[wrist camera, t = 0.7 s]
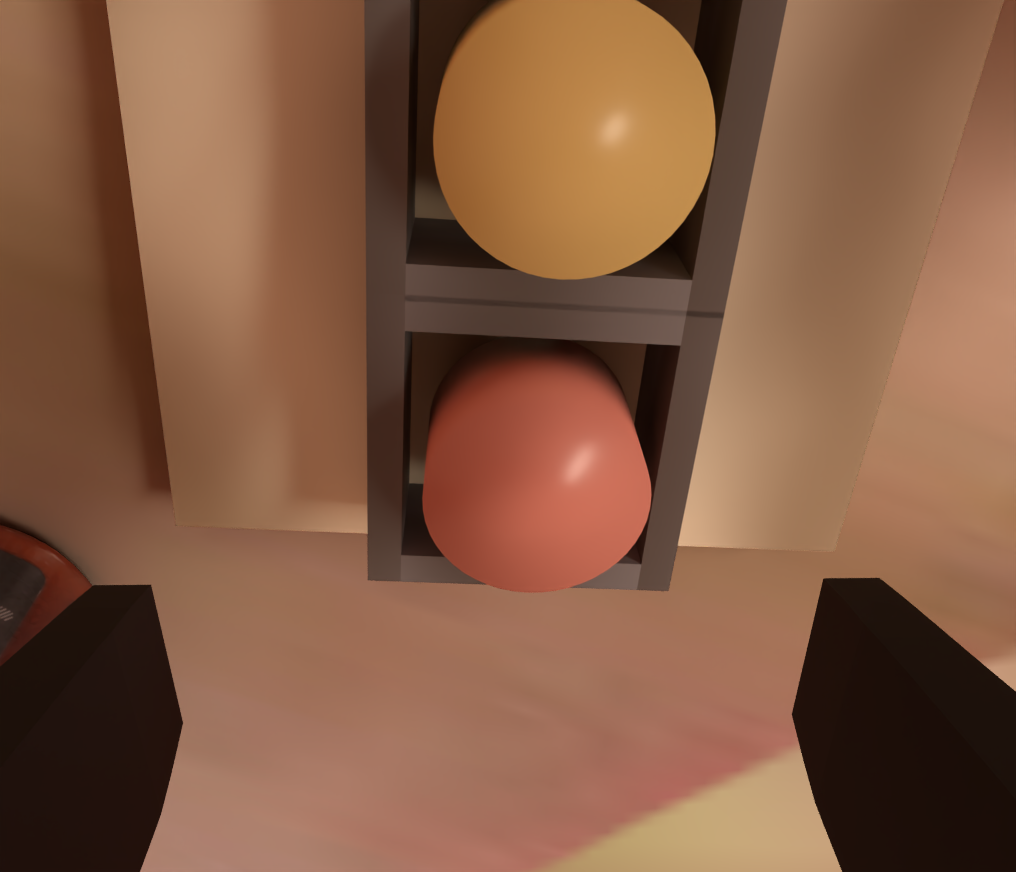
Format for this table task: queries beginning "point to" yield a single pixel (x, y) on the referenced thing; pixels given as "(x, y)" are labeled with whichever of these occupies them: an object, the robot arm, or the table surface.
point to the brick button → (533, 466)
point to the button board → (515, 294)
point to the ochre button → (572, 133)
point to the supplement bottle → (32, 588)
